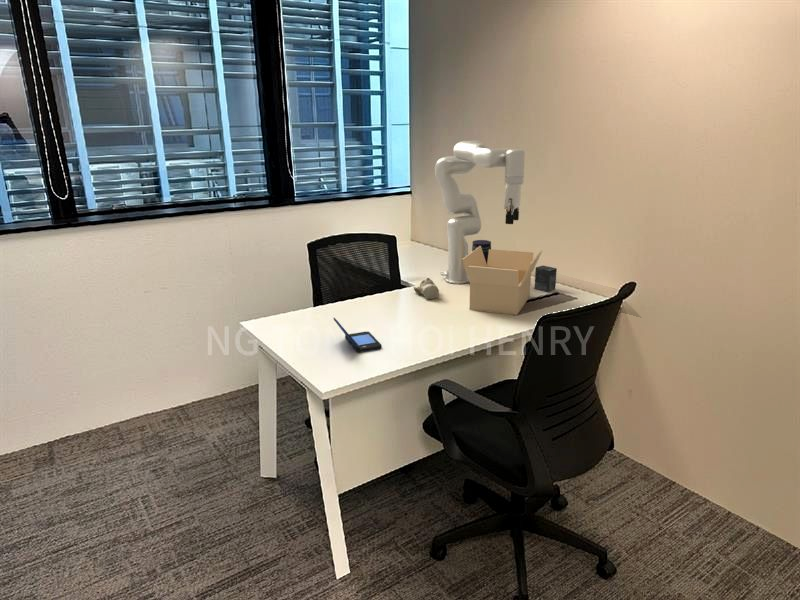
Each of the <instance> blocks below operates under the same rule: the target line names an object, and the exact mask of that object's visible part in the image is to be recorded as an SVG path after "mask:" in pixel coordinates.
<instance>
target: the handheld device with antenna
mask: <svg viewBox="0 0 800 600" xmlns="http://www.w3.org/2000/svg"><path fill="white" fill-rule="evenodd" d="M332 319H333V321H334V322H335V323H336V325H337V326H338V327H339V329H340V330H341V331H342V332H343V334H344V338H345V340H347V341H348V342H349V344H351V346H352V347H353V349H354V350H355V352H356V353H362V352H363V353H364V352H370V351H374V350H379V349H381V348H382V343H380V342H379V341H378V339H376V337H375V336H373V334H372V333H371V332H370V331H362V332H354V333H348V332H347V330H346V329H345V328H344V326H343V325H342V324H341V323H340V322H339V321H338V320H337V319H336V318H335V317H333V318H332Z"/></svg>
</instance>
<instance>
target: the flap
mask: <svg viewBox="0 0 800 600" xmlns="http://www.w3.org/2000/svg"><path fill="white" fill-rule="evenodd" d="M542 252H543V250H542V249H541V250H540V251H539V252H538V253H537V255H535V257H533V261H532V262H531V263H530V265H529V267H528V269H527V271H526V273H525V275H524V278H523V280H522V282H521V284H520V287H521V286H522V284H523V283H524V282H525V281H526V279H527V278H528V277H529V275H530V274H531V275H532V273H533V271H534V269H536V266H537V264H538V261H539V259H540V256H541V255H542Z"/></svg>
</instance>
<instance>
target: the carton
mask: <svg viewBox="0 0 800 600" xmlns="http://www.w3.org/2000/svg"><path fill="white" fill-rule="evenodd" d="M534 254H535V253H534V252H532V251H531V252H530V251H529V252H528V251H516V250H507V249H505V250H503V249H492V248H491V249H489V253H488V261H487V264H486V260H485V257H484V254H483V251H482V248H481V246H479V247H478V248H476V249H475V250H474V251H472V250H471V252H470V253H468V255H467V256H466V257H464V258H463V259H462V261H463V264H464V267H465V270H466V273H467V276H468V279H469V282H468V283H469V307H468V309H469V310H471V311H478V312H479V311H480V312H486V313H487V312H488V313H494V314H502V313H503V315H510V314H512V316H518V315H519V313H520V312H521V311H522V310H523V307H524V306H525V304H526V303H527V301H528V300H529V299H530V298H531V297H530V296H531V285H532V282H531V281H532V273H531V274H530V275H529V277H528V278H527V279H526V281H525V282H524V283H523V284H522V286H521V287H520V284H521V282H522V280H523V278H524V275H525V273H526V271H527V269H528V267H529V265H530V263H531V262H532V261H533V260H534Z"/></svg>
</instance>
